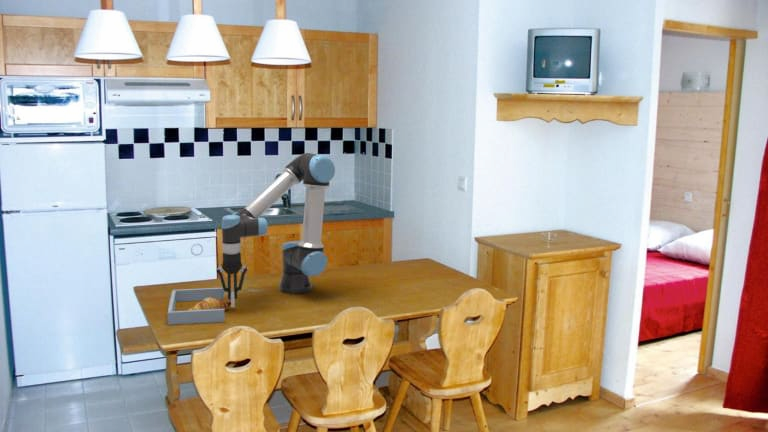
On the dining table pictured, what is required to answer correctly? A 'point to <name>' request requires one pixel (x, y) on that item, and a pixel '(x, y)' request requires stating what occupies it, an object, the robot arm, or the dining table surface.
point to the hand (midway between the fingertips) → (232, 306)
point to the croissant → (211, 304)
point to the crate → (195, 315)
